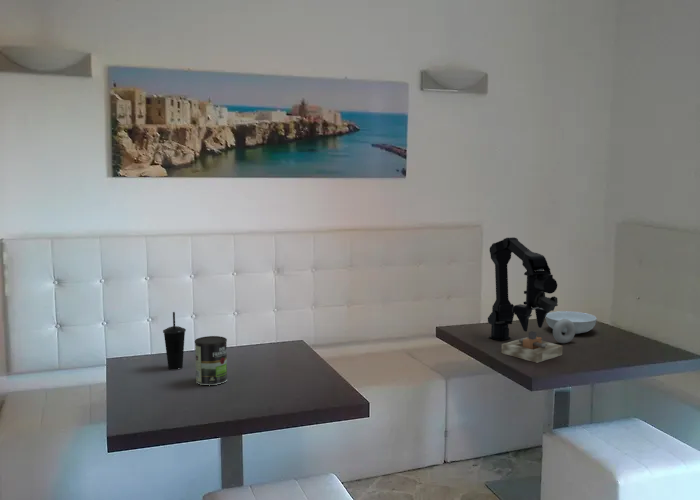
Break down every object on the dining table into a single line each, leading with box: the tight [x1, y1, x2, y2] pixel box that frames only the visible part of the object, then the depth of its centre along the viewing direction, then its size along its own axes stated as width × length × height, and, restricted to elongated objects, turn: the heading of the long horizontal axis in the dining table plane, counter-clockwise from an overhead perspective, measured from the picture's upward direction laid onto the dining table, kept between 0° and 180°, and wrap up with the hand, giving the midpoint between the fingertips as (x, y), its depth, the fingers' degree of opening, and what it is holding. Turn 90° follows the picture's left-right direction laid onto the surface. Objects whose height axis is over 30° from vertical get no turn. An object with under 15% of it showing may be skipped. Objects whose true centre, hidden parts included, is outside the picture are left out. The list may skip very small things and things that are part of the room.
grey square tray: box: [500, 336, 564, 364], centre depth 250 cm, size 16×16×5 cm
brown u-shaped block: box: [523, 330, 543, 349], centre depth 249 cm, size 3×8×7 cm, turn 130°
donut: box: [552, 319, 576, 344], centre depth 265 cm, size 10×4×10 cm, turn 108°
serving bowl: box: [545, 310, 598, 335], centre depth 284 cm, size 21×21×7 cm
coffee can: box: [194, 335, 228, 387], centre depth 217 cm, size 10×10×14 cm
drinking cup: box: [162, 311, 187, 370], centre depth 231 cm, size 8×8×20 cm
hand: (532, 329), depth 249 cm, fingers open, 9 cm apart
